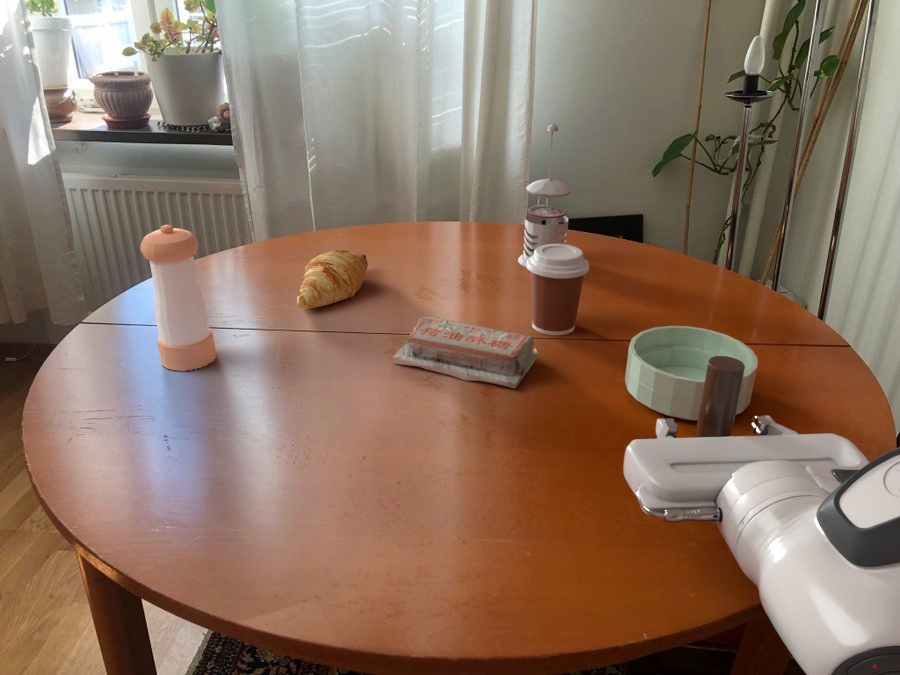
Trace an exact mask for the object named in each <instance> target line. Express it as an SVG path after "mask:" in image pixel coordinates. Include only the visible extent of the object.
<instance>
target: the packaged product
mask: <svg viewBox="0 0 900 675" xmlns="http://www.w3.org/2000/svg"><path fill="white" fill-rule="evenodd" d="M534 340H535V339H534V337H533V336H532V335H528V334H522V333H519V332H514V331H507V330H504V329H498V328H493V327H487V326H482V325H477V324H472V323H466V322H462V321H455V320H450V319H445V318H440V317H435V316H425V317H421V318H419V319H418V321H417V322H416V325H415V326H414V327H413V329H412V331H410V333H409V335H408V339H407V342H406V343H405V344H404V345H402V347H400V349H398V350H397V351H396V352H395V354H394V355H393V356H391V360H392V363H393V364H395V365H402V366H410V367H417V368H422V369H424V370H428V371H432V372H437V373H440V374H444V375H449V376H451V377H454V378H456V379H457V378H458V379H460V380H463V381H471V382H472V381H475V382H477V381H478V382H483V383H488V384H494V385H498V386H503V387H506V388H507V387H508V388H512V389H516V388H517V387H518V385H519V384H520V382H521V381H522V380H523V379H524V377H525V376H526V375H527V373H528V372H529V370H530V369H531V368H532V367H533V365H534V363H535V362H536V360H537V359H538V356H539V354H538V351H537V349H536V348H535V347H534V344H535V342H534Z"/></svg>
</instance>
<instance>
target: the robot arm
mask: <svg viewBox="0 0 900 675" xmlns="http://www.w3.org/2000/svg"><path fill="white" fill-rule="evenodd" d="M751 420H752V422H751V424H750V431H751V433H752V434H753V435H737V436H736V435H735V436H734V435H733V436H732V435H731V436H730V437H697V438H695V437H677V433H678V431H679V430H678V429H679V426H678V424H677V422H675V419H674V418H657V419H656V425H655V435H656V438H637V439H632V440H631V441H630V443H629V444H628V445H627V446H626V448H625V451H624V457H623V467H622V468H623V469H622V470H623V471H622V472H623V476H624V479H625V482H626V483H627V485H628V486H629V488H630V490H631V491H632V493H633V495H634V496H635V497H636V499H637V501H638V504H639V506H640V508H641V510H642V512H643V513H645V515H648V516H652V517H655V518H658V519H661V520H663V521H664V522H666V523H671V524H677V523H678V524H679V523H682V522H696V523H697V522H698V523H699V522H700V523H705V522H706V523H707V522H708V523H709V522H715V525H716V527H717V530H718V531H719V533H720V535H721V536H722V538H723V540H724V541H725V543H726V545H727V547H728V549H729V550H730V552H731V554H732V555H733V557H734V559H735V561H736V563H737V564H738V566H739V568H740V570H741V571H742V572H743V574H744V576H746V578H747V579H749V580H750V581H751V582H752V583H753V584H754V585H755V586H756V587H757V589H758V596H759V600H760V603H761V605H762V608H763V610H764V612H765V614H766V616H767V617H768V619H769V621H770V623H771V624H772V626H773V628H774V629H775V631H776V632H777V634H778V636H779V637H780V639H781V640H782V642H783V644H784V645H785V647H786V648H787V650H788V651H789V653H790V654H791V656H792V657H793V658H794V660H795V662H796V663H797V664H798V665H799V667H800V668H801V670H803V672H804V674H806V675H900V446H898V447H896V448H892V449H891V450H889V451H886V452H884V453H883V454H881V455H880V456H878V457H876V458H875V459H873V460H872V461H870V460H869V459H868V458H867V457H866V455H864V454H863V452H862V451H861V450H860V449H859V448H858V446H856V445H855V444H854V443H853V442H852V441H851V440H850V439H848V438H846V437H845V436H841V435H839V434H836V433H832V432H828V433H801V434H800V433H798V432H797V431H795V430H793V429H791V428H788V427H786V426H784V425H781V424H779V423H776V421H775V420H774V419H773V418H772V417H771V416H770V415H754V416H752V419H751Z"/></svg>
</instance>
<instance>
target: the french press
mask: <svg viewBox="0 0 900 675" xmlns="http://www.w3.org/2000/svg"><path fill="white" fill-rule="evenodd" d="M546 131H547V132H551V133H550V134H551V135H550V136H551V138H550V152H549V166H548V178H547V179H538V180H535V181H533V182H531V183H529V184H528V185H527V186H526V188H525V190H526V191H527V192H528V193H529V194H531V195H534V196H537V205H533V206H530V207H528V208H527V213H528V215H526V216H525V218H524V235H523V236H524V237H523V253H522V254H521V255H520V256H519V257H518V259H517V262H518V263H519V265H520V266H522V267H525V268H527V260H528V259H529V258H530V257H531V256H533V255H534V250H535V249H536V248H538V247H539V246H542V245H547V244H563V243H564V244H565V245H568V244H567V243H568V241H567V240H568V230H569V229H568V228H569V218H568V217H567V216H566V215H567V214H568V210H567V209H565V208H564V207H561V206H560V205H559V206H558V205H550V204H549V201H550V199H549V198H560V197H565V196H568V195H570V194H571V193H572V191H573V190H572V188H571V187H570V186H569V185H568V184H566V183H565V182H563V181H560V180H557V179H554V178H551V169H552V156H553V141H554V140H553V138H554V133H555V132H559V127H558V125H557V124H555V123H550V124H549V125H547V128H546ZM541 199H545V200H546V204H540V200H541ZM543 219H545V224H542V221H543ZM560 236H562V237H563V238H560Z"/></svg>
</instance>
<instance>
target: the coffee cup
mask: <svg viewBox="0 0 900 675" xmlns="http://www.w3.org/2000/svg"><path fill="white" fill-rule="evenodd" d="M526 269H527V271H530V286H531V288H530V289H531V316H532V317H531V318H532V319H531V320H532V321H531V326H532V329H534V330H535V331H536V332H537V333H541V334H542V335H549V336H563V335H568V334H570V333H572V332H574V330H575V328H576V320H577V316H578V310H579V304H580V298H581V293H582V287H583V281H584V276H585V275H587V273H588V272H589V271H590V264H589V261H588V260H587V259H586V258H585V257H584V252H583V251H582V249H580V248H578V247H577V246H574V245H570V244H567V245H565V243H564V244H563V243H558V244H547V245H542V246H539V247H538V248H536V249H535V250H534V255H533V256H531V257H530V258H529V259H528V260H527V267H526Z"/></svg>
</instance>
